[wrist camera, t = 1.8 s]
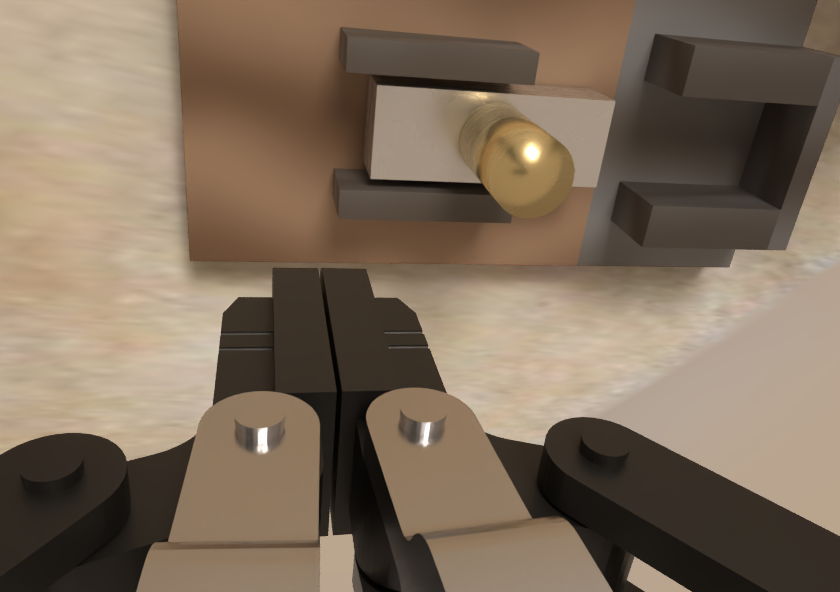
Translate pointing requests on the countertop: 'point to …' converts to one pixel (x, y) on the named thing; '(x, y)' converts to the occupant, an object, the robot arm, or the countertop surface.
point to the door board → (510, 64)
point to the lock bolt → (488, 137)
